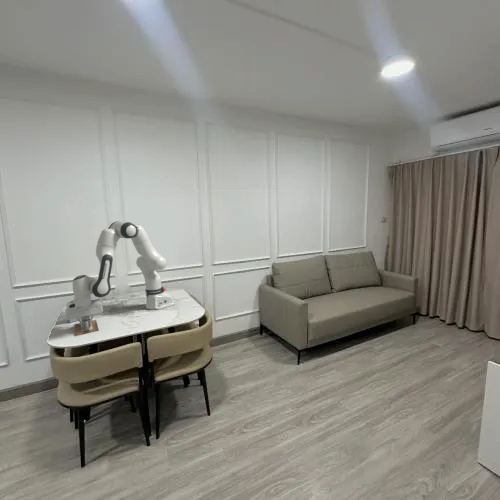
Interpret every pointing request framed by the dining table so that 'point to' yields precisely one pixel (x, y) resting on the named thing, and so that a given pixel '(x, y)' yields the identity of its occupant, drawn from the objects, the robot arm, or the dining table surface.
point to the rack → (86, 328)
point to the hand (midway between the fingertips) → (86, 322)
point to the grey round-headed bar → (86, 318)
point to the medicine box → (73, 320)
